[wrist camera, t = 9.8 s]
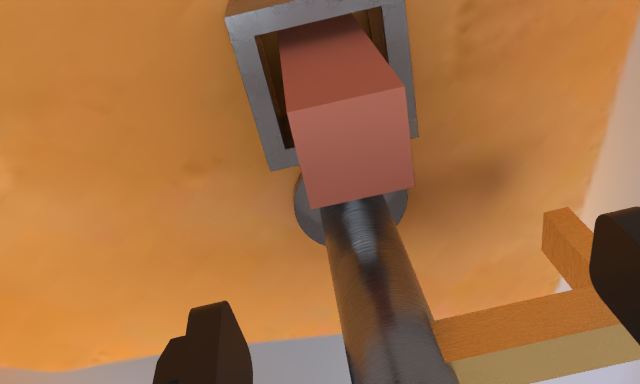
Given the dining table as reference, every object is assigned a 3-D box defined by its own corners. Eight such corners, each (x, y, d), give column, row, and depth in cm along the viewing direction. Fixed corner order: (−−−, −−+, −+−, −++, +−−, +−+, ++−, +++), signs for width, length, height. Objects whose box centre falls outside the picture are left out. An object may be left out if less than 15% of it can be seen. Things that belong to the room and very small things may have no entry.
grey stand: (229, -1, 24) (149, 272, 7) (507, -67, 23) (1161, 41, 6) (302, 252, 32) (349, 649, 15) (505, 206, 32) (781, 558, 15)
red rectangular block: (276, 28, 25) (286, 112, 15) (350, 12, 24) (404, 86, 15) (293, 98, 27) (311, 209, 17) (360, 83, 26) (414, 186, 17)
